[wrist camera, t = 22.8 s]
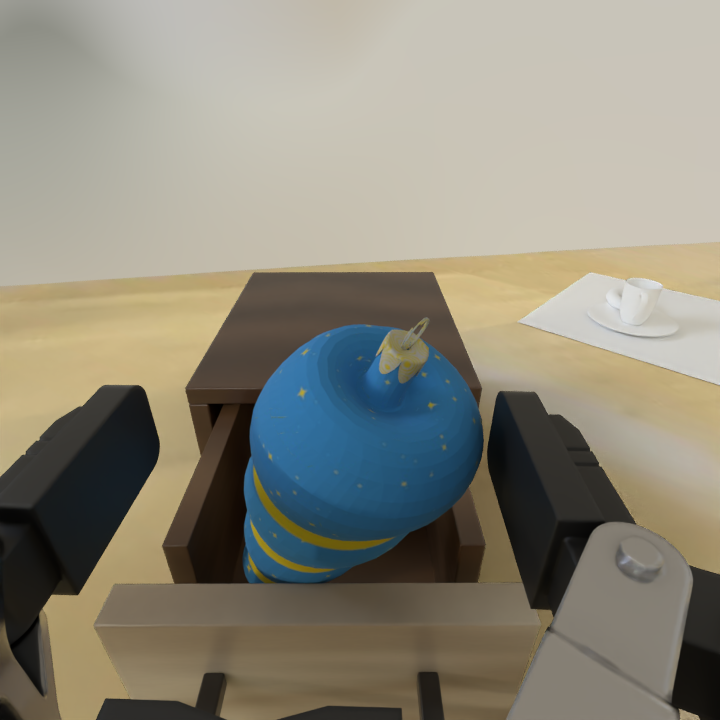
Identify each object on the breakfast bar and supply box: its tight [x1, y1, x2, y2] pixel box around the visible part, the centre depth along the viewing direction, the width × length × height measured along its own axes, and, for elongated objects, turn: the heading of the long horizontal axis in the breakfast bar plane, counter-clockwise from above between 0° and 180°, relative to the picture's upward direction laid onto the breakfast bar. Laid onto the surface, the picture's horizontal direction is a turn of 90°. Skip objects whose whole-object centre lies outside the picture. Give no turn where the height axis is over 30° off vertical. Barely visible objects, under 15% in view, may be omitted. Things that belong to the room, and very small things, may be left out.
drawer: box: [94, 404, 541, 720], centre depth 17 cm, size 18×12×7 cm, turn 0°
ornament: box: [243, 317, 484, 583], centre depth 13 cm, size 5×5×15 cm
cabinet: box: [185, 272, 482, 455], centre depth 28 cm, size 15×13×9 cm
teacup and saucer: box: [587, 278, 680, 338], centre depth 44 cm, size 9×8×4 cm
